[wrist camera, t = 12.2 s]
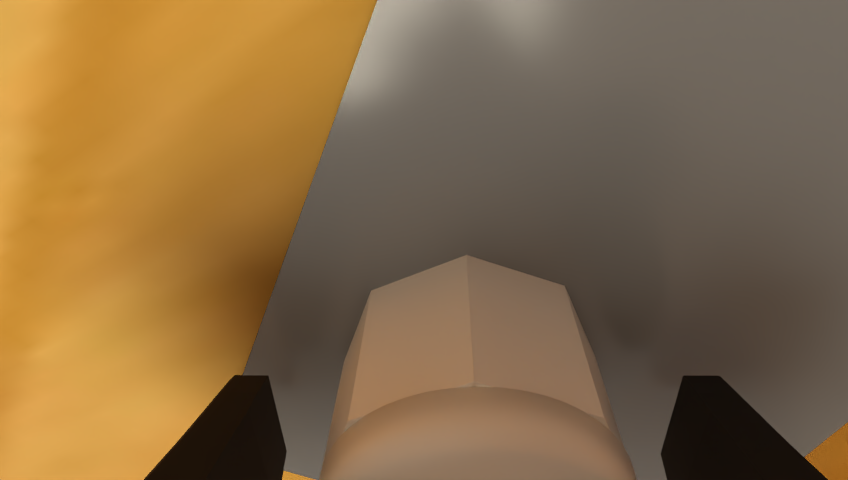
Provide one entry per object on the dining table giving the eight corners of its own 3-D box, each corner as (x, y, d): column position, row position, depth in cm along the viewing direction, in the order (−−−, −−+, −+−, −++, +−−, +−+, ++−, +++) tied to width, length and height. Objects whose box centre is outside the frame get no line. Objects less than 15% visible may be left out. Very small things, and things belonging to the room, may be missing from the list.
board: (645, 539, 16) (690, 686, 13) (229, 416, 14) (171, 560, 11) (1224, 36, 9) (1627, 115, 6) (525, -404, 6) (596, -649, 3)
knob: (543, 220, 10) (603, 427, 6) (619, 402, 12) (698, 633, 8) (301, 311, 11) (229, 530, 7) (412, 461, 13) (400, 685, 9)
